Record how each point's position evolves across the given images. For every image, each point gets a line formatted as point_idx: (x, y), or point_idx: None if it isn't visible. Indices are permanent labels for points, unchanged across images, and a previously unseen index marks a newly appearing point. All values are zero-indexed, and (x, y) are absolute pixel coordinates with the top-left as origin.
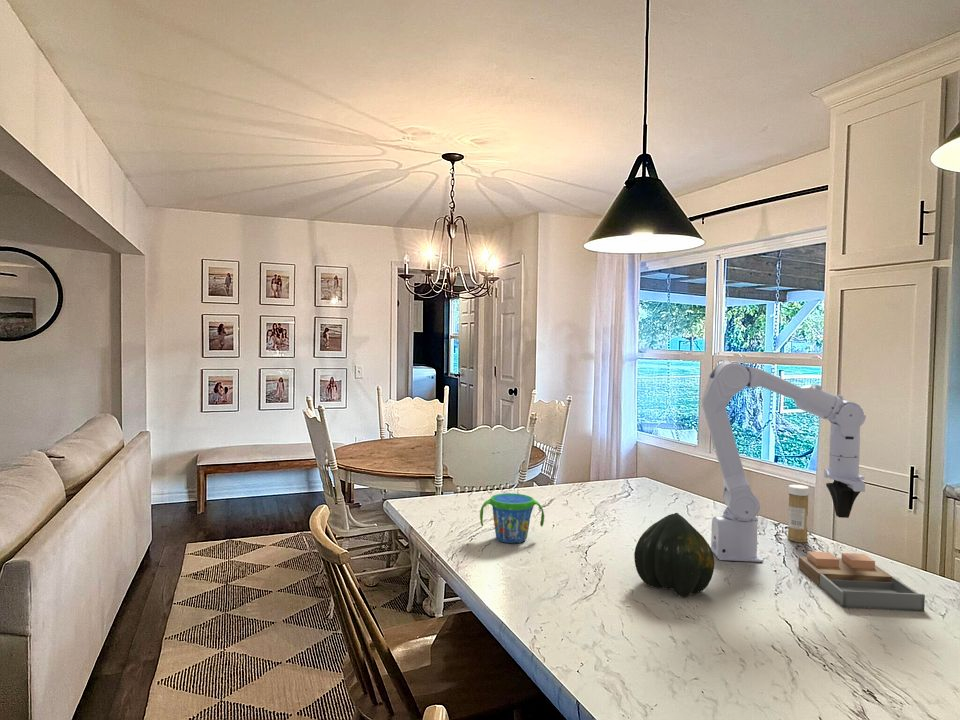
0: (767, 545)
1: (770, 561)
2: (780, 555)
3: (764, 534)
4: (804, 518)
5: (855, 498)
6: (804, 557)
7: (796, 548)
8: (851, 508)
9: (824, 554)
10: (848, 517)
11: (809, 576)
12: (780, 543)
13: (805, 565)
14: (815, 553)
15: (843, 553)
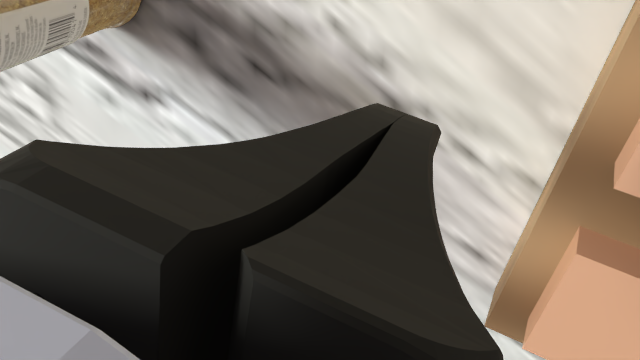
0: None
1: None
2: None
3: (48, 80)
4: (28, 5)
5: (447, 261)
6: (506, 314)
7: (229, 80)
8: (428, 165)
9: (605, 313)
10: (437, 127)
11: None
12: (163, 102)
13: None
14: (569, 340)
15: (630, 187)
